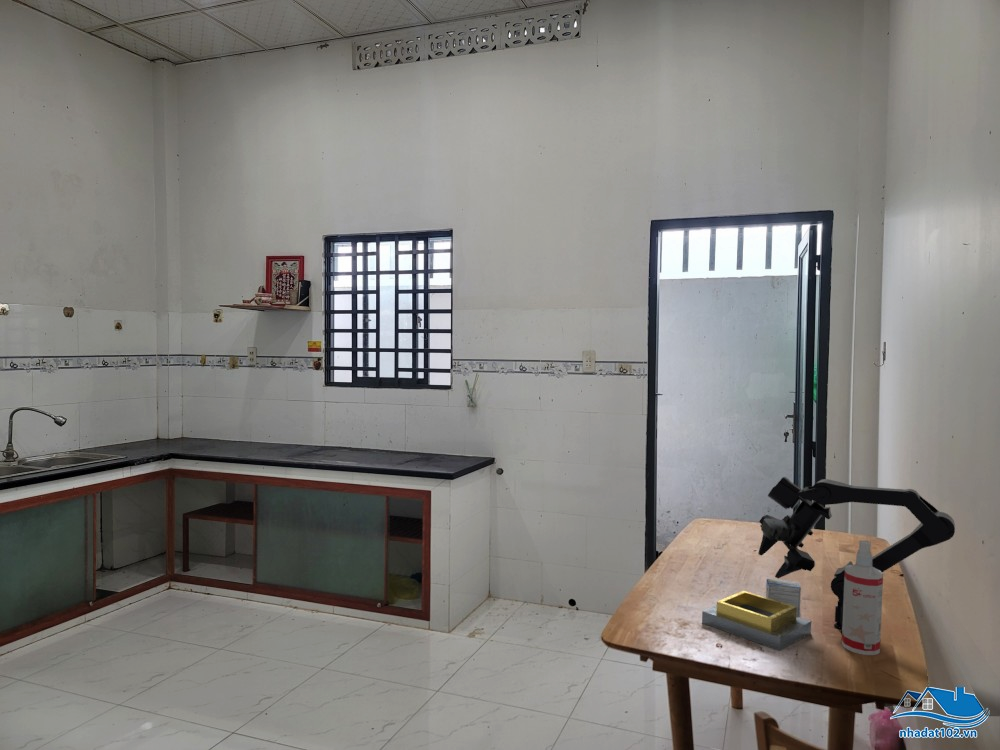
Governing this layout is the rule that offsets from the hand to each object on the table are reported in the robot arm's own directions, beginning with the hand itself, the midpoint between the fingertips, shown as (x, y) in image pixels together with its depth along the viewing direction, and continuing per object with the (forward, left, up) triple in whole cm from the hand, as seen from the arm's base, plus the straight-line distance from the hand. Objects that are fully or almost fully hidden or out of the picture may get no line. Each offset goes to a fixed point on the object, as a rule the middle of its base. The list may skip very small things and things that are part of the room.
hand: (768, 565), depth 177 cm
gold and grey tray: (-5, +15, -12) cm, 20 cm away
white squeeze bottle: (-26, +6, -12) cm, 29 cm away
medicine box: (-5, +1, -12) cm, 13 cm away
